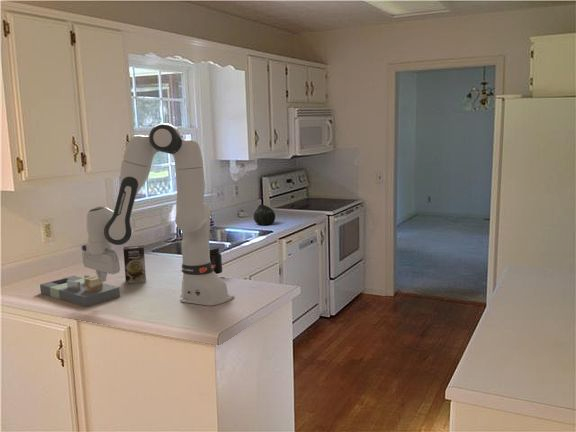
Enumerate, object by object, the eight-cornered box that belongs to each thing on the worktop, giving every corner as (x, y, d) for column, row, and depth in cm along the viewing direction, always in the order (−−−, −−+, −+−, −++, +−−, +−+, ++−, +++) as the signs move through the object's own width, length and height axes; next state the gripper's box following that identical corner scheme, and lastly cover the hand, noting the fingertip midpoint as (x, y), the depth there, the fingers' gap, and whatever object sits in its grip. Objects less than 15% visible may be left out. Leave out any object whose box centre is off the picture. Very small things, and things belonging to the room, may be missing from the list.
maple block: (102, 289, 222) (101, 277, 221) (92, 292, 218) (91, 280, 217) (95, 287, 225) (94, 275, 224) (85, 290, 221) (84, 278, 220)
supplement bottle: (212, 270, 262) (211, 246, 260) (225, 271, 259) (223, 246, 257) (205, 273, 255) (204, 249, 254) (218, 274, 253) (216, 250, 251)
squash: (280, 217, 376) (272, 200, 382) (261, 220, 368) (253, 203, 374) (273, 228, 386) (265, 211, 393) (255, 231, 379) (247, 214, 385)
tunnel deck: (120, 296, 225) (118, 278, 223) (85, 307, 212) (84, 288, 211) (74, 284, 245) (73, 268, 244) (40, 293, 232) (39, 276, 231)
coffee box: (125, 284, 242) (122, 249, 240) (125, 280, 248) (123, 246, 246) (146, 282, 245) (143, 247, 242) (146, 278, 251) (143, 244, 248)
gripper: (122, 249, 210) (124, 283, 212) (92, 242, 222) (94, 275, 224) (108, 252, 205) (111, 287, 207) (78, 245, 217) (81, 278, 219)
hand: (102, 281), depth 216 cm, fingers closed
